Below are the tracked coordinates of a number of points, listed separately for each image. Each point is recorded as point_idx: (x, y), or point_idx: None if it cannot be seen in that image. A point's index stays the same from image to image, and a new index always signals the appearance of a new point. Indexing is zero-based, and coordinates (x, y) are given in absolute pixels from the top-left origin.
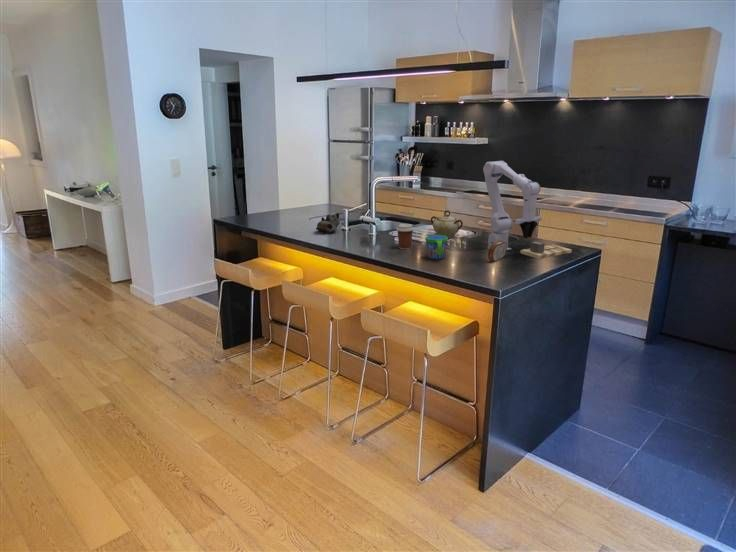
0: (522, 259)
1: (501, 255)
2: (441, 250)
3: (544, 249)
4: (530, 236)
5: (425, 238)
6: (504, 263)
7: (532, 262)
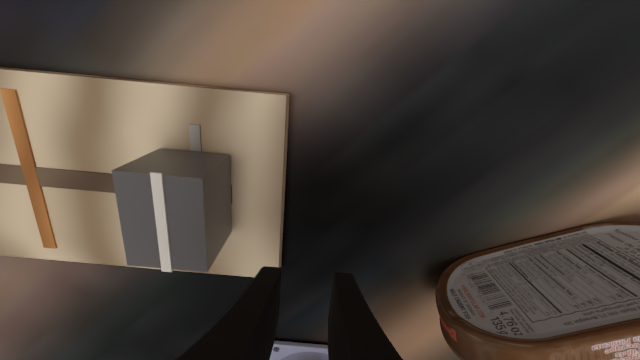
0: (400, 152)
1: (501, 262)
2: None
3: (102, 196)
4: (280, 273)
5: None
6: (594, 154)
7: (415, 43)
